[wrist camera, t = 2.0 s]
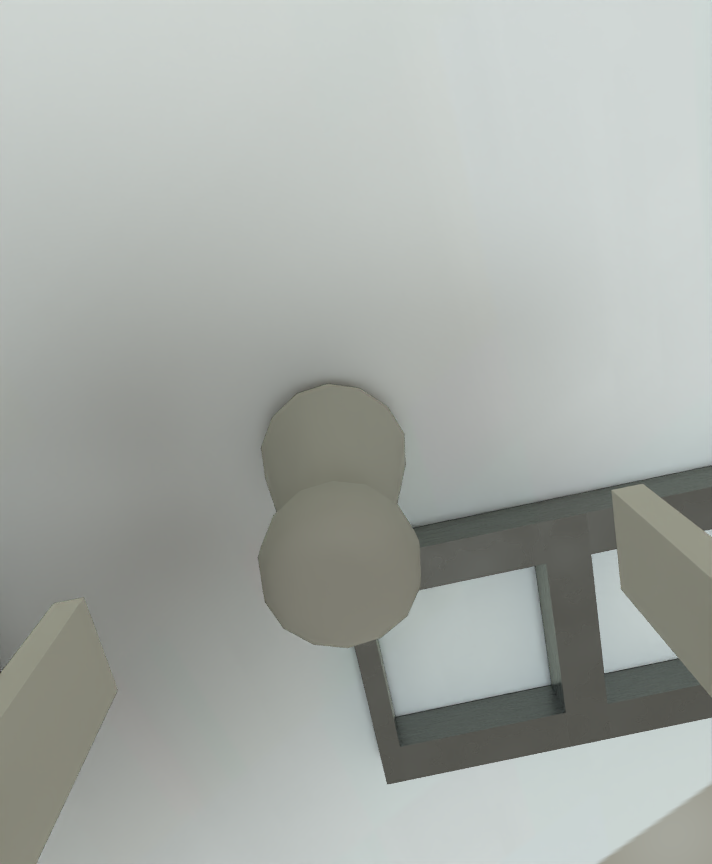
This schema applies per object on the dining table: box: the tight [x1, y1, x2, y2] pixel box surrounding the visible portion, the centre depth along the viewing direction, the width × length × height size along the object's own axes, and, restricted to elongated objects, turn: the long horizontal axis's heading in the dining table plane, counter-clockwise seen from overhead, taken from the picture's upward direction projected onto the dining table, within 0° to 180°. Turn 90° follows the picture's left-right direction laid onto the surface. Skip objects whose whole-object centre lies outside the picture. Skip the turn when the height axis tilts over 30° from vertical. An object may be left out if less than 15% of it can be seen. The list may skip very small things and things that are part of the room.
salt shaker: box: [258, 384, 421, 648], centre depth 22 cm, size 6×6×13 cm
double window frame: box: [355, 466, 712, 784], centre depth 31 cm, size 20×12×2 cm, turn 101°
